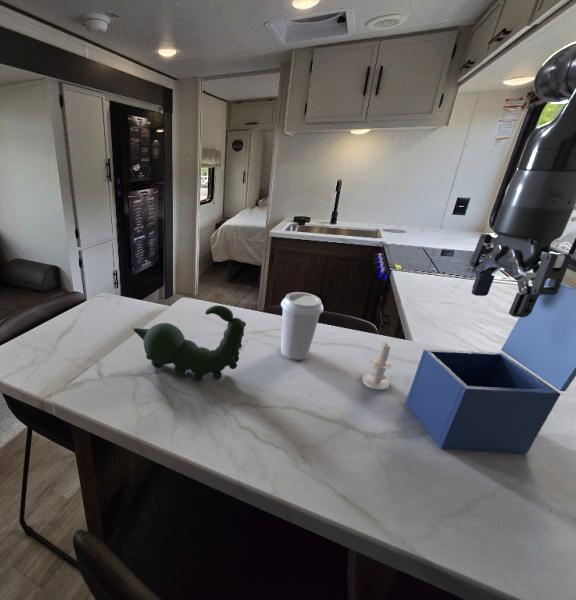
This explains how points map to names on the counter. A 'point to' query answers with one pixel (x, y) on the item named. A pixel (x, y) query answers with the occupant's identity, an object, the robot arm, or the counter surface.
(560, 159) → the robot arm
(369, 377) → the cream chess piece
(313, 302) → the coffee cup
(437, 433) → the case
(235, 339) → the toy figurine
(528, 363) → the lid
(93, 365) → the counter surface
